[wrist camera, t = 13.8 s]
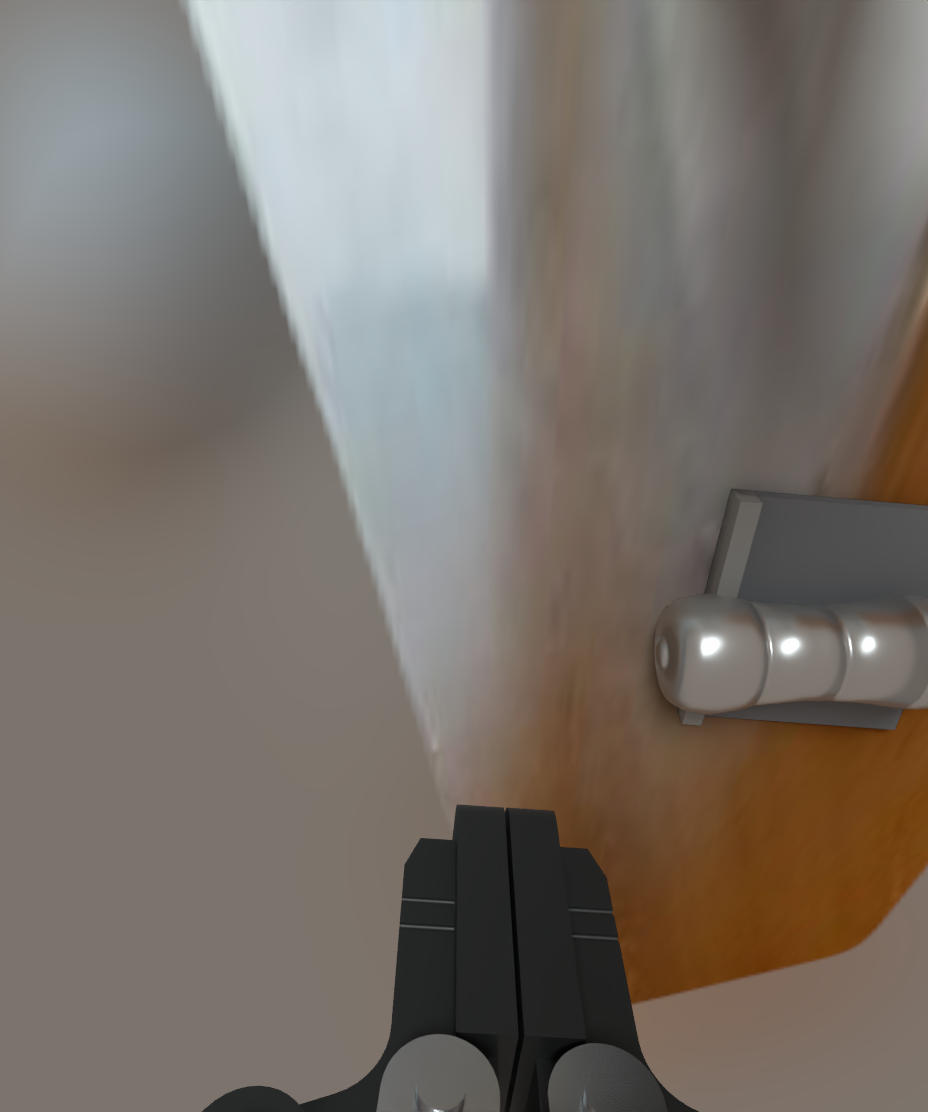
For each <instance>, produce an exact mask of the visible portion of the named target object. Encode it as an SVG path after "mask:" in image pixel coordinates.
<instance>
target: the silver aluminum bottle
mask: <svg viewBox="0 0 928 1112" xmlns="http://www.w3.org/2000/svg"><path fill="white" fill-rule="evenodd" d="M654 657H655V668H656V674H657V679H658V683H659V686H660V689H661V691H662V693H663V695H664V697H665V698H666V700H668V701H669V702H670V703H672V704H673V705H675V706H676V707H678V708H680V709H681V710H684V711H689V712H695V713H702V714H709V715H711V714H717V713H724V712H731V711H736V710H741V709H745V708H749V707H751V706H758V705H767V704H777V703H787V702H797V701H830V702H857V703H864V704H872V705H880V706H888V707H896V708H903V709H926V708H928V598H927V597H924V596H920V595H901V596H893V597H884V598H878V599H871V600H865V601H858V602H851V603H838V604H823V605H790V604H777V603H765V602H752V601H746V600H743V599H739V598H734V597H729V596H721V595H713V594H701V595H695V596H689V597H683V598H679V599H678V600H676V601H674V602H673V603H671V604H670V605H668V606H667V607H665V608H664V610H663V611H662V612H661V614H660V616H659V620H658V623H657V627H656V633H655V644H654Z"/></svg>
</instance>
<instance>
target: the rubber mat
mask: <svg viewBox="0 0 928 1112" xmlns="http://www.w3.org/2000/svg"><path fill="white" fill-rule="evenodd" d="M704 594H713V595H721V596H729V597H734V598H739V599H743V600H746V601H752V602H765V603H777V604H790V605H823V604H838V603H851V602H858V601H865V600H871V599H878V598H884V597H893V596H901V595H920V596H924V597H927V598H928V506H924V505H913V504H901V503H889V502H877V501H866V500H854V499H842V498H830V497H818V496H807V495H795V494H783V493H771V492H759V491H748V490H736V489H731V491H730V495H729V499H728V503H727V507H726V511H725V515H724V519H723V523H722V527H721V531H720V535H719V538H718V542H717V546H716V550H715V554H714V558H713V562H712V566H711V570H710V574H709V578H708V582H707V586H706V589H705V593H704ZM676 708H677V711H678V714H679V716H680V719H681V722H682V724H688V725H702V722H703V718H704V716H712V717H726V718H740V719H753V720H767V721H781V722H794V723H808V724H822V725H835V726H849V727H863V728H876V729H890V730H895V728H896V725H897V723H898V721H899V718H900V716H901V713H902V711H903V708H896V707H888V706H880V705H872V704H864V703H857V702H830V701H797V702H787V703H777V704H767V705H758V706H751V707H749V708H745V709H741V710H736V711H731V712H724V713H717V714H711V715H709V714H702V713H695V712H689V711H684V710H681V709H680V708H678V707H676Z"/></svg>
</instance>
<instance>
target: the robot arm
mask: <svg viewBox="0 0 928 1112" xmlns="http://www.w3.org/2000/svg"><path fill="white" fill-rule="evenodd" d="M612 911H613V908H612V903H611V898H610V893H609V888H608V883H607V878H606V876H605V875H604V873H603V872H602V870H601V869H600V867H599V866H598V864H597V863H596V861H595V860H594V858H593V857H592V855H591V854H590V852H589V851H588V849H581V848H566V847H560V843H559V836H558V828H557V821H556V816H555V813H554V811H548V810H534V809H519V808H506V811H505V812H504V808H501V807H486V806H472V805H457V806H456V813H455V821H454V830H453V839H452V840H442V839H426V838H421V839H420V840H419V842H418V844H417V845H416V847H415V848H414V850H413V852H412V854H411V855H410V857H409V859H408V860H407V862H406V863H405V867H404V879H403V891H402V904H401V915H400V928H399V940H398V952H397V965H396V976H395V977H396V978H395V988H394V1000H393V1013H392V1025H391V1032H390V1038H389V1041H388V1044H387V1047H386V1049H385V1051H384V1053H383V1055H382V1057H381V1059H380V1060H379V1062H378V1063H377V1065H376V1066H375V1067H374V1068H373V1069H372V1070H371V1071H370V1073H369V1074H368V1075H367V1076H365V1077H364V1078H363V1079H362V1080H361V1081H359V1082H358V1083H356V1084H355V1085H353V1086H351V1087H349V1088H348V1089H346V1090H343V1091H340V1092H338V1093H335V1094H332V1095H329V1096H326V1097H323V1098H319V1099H316V1100H313V1101H309V1102H306V1103H303V1104H300V1105H299V1104H298V1103H297V1102H296V1101H295V1100H294V1099H293V1098H291V1097H290V1096H289V1095H288V1094H286V1093H284V1092H282V1091H280V1090H278V1089H274V1088H271V1087H264V1086H250V1087H245V1088H240V1089H237V1090H234V1091H232V1092H230V1093H227V1094H225V1095H223V1096H222V1097H220V1098H218V1099H217V1100H215V1101H214V1102H213V1103H212V1104H210V1105H209V1106H208V1107H207V1108H205V1109H204V1110H203V1111H202V1112H698V1111H696V1110H694V1109H692V1108H690V1107H688V1106H687V1105H685V1104H684V1103H682V1102H681V1101H679V1100H678V1099H676V1098H675V1097H674V1096H673V1095H672V1094H670V1093H669V1092H668V1091H667V1090H666V1089H665V1088H664V1087H663V1086H662V1085H661V1083H660V1082H659V1081H658V1080H657V1078H656V1077H655V1076H654V1074H653V1073H652V1072H651V1070H650V1068H649V1067H648V1065H647V1063H646V1061H645V1059H644V1056H643V1054H642V1052H641V1048H640V1045H639V1041H638V1036H637V1032H636V1026H635V1021H634V1016H633V1011H632V1005H631V1000H630V995H629V990H628V985H627V980H626V975H625V970H624V965H623V959H622V954H621V949H620V944H619V942H618V934H617V929H616V924H615V919H614V916H613V914H612Z"/></svg>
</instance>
